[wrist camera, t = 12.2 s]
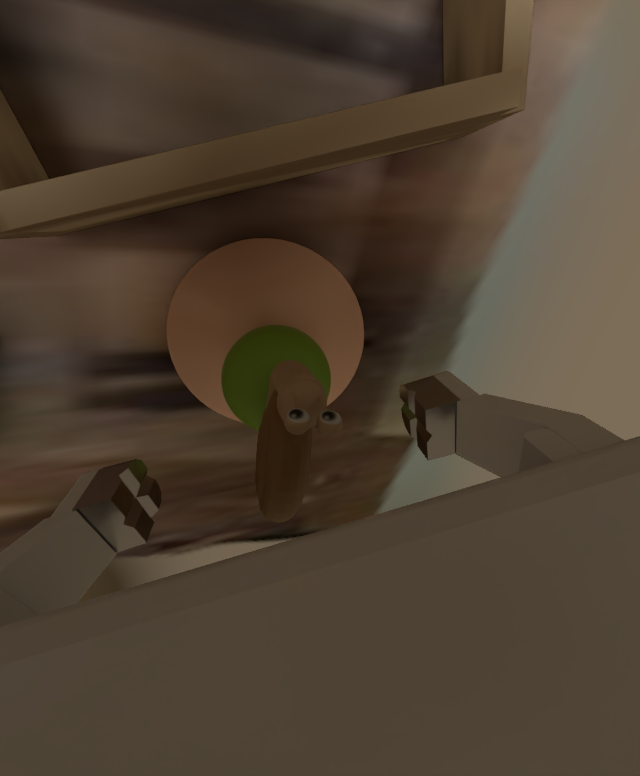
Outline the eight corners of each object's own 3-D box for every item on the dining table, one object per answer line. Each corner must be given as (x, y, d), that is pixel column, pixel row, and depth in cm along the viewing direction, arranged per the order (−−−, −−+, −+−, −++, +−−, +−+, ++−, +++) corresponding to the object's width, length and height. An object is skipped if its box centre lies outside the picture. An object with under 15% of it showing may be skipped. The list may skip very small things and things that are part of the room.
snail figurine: (331, 301, 17) (444, 424, 6) (313, 402, 20) (371, 602, 9) (229, 287, 16) (162, 409, 5) (225, 396, 18) (177, 618, 8)
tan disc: (131, 267, 15) (125, 269, 15) (343, 214, 16) (347, 213, 15) (215, 437, 21) (213, 444, 20) (371, 393, 21) (375, 399, 20)
